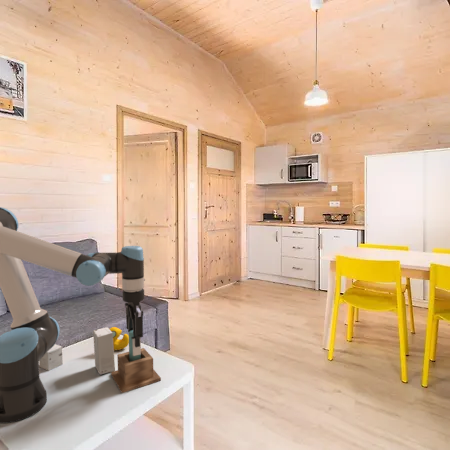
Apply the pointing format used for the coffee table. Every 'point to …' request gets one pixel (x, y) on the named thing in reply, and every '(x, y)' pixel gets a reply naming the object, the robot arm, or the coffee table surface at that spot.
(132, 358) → the peg
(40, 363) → the skincare box
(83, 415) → the coffee table surface
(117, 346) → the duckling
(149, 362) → the socket
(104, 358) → the skincare box
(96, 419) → the coffee table surface
